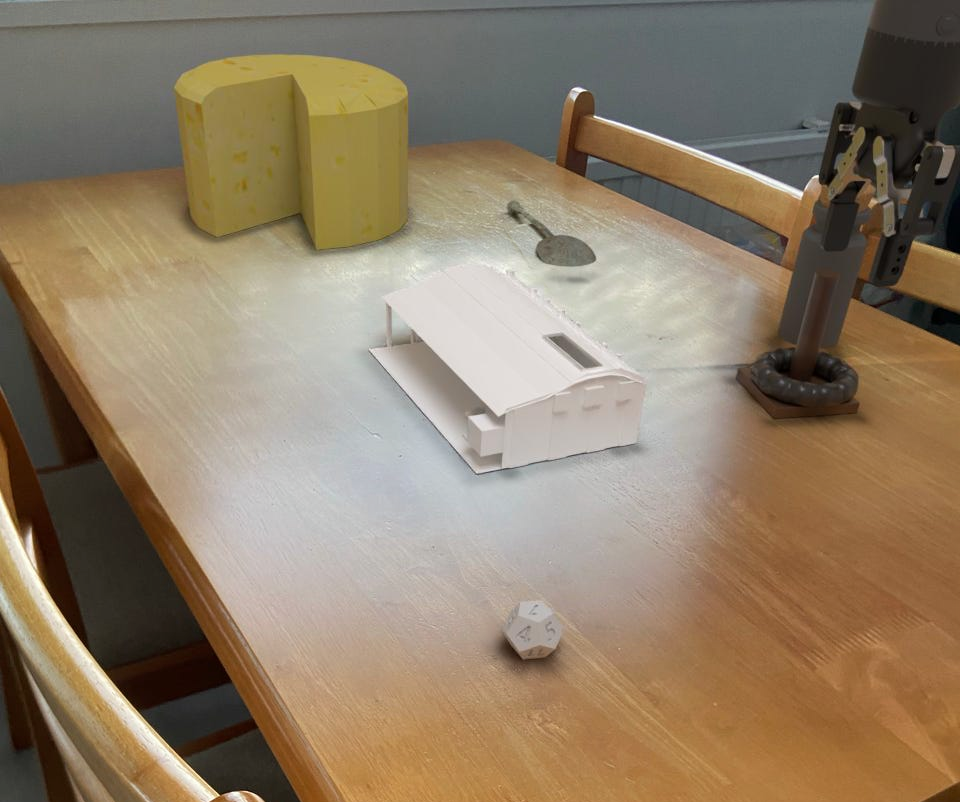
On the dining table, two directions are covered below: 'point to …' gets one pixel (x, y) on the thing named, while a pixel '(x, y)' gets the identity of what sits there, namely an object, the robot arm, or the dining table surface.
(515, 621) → the game die
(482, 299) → the toy hangar
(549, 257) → the soupspoon
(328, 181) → the cheese
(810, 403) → the ring
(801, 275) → the bottle
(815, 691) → the dining table surface
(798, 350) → the peg stand
